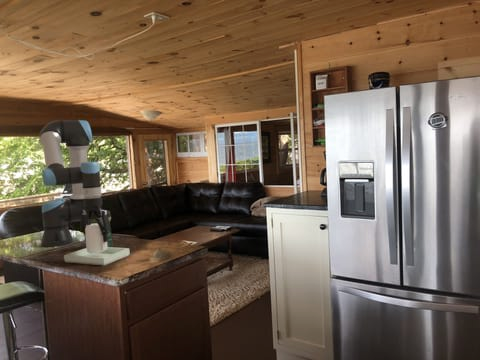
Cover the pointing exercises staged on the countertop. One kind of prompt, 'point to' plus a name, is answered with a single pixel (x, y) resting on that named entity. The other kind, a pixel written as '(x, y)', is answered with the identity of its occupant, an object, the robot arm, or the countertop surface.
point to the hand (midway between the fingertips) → (96, 248)
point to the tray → (97, 256)
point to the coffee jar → (110, 241)
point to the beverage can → (93, 238)
